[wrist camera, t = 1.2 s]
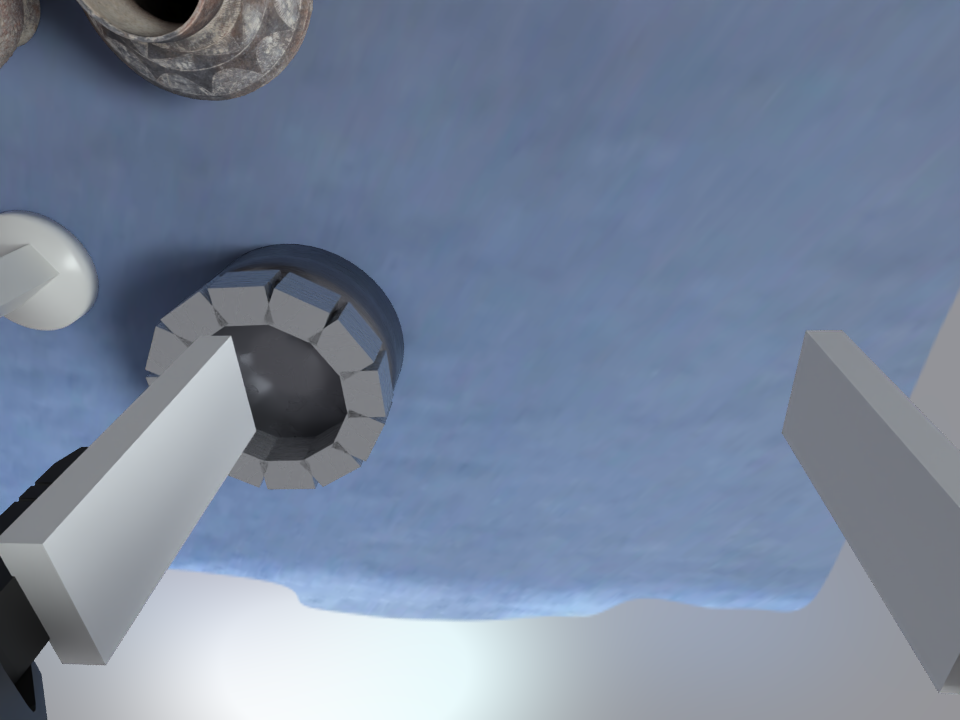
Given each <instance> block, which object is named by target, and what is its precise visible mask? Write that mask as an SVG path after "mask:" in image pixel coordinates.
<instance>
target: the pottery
mask: <svg viewBox="0 0 960 720" xmlns="http://www.w3.org/2000/svg"><path fill="white" fill-rule="evenodd" d="M76 1H77V2H78V3H79V4H80V5H81V7H82V9H83V10H84V12H85V14H86V16H87V18H88V19H89V21H90V23H91V24H92V26H93V27H94V29H95V30H96V32H97V33H98V34H99V36H100V37H101V38H102V40H103V41H104V42H105V43H106V44H107V46H108V47H109V48H110V49H111V50H112V51H113V52H114V53H115V54H116V55H117V56H118V57H119V58H120V59H121V60H122V61H123V62H124V63H125V64H126V65H127V66H128V67H129V68H131V69H132V70H133V71H134V72H136V73H137V74H138V75H140V76H141V77H142V78H144V79H146V80H147V81H149V82H150V83H152V84H154V85H155V86H157V87H159V88H161V89H164V90H166V91H169V92H171V93H174V94H177V95H180V96H184V97H188V98H193V99H200V100H216V101H217V100H228V99H232V98H237V97H240V96H244V95H246V94H249V93H251V92H253V91H255V90H257V89H258V88H260V87H262V86H264V85H265V84H268V83H269V82H270V81H271V80H273V79H274V78H275V77H276V76H278V75H279V74H280V73H281V72H282V71H283V70H284V69H285V68H286V67H287V66H288V64H289V63H290V61H291V60H292V59H293V58H294V56H295V55H296V53H297V52H298V50H299V48H300V46H301V44H302V42H303V40H304V37H305V35H306V32H307V29H308V26H309V22H310V17H311V13H312V10H313V0H76ZM39 20H40V0H0V68H1V67H2V66H3V65H4V64H5V63H6V62H7V61H8V60H9V58H10V57H11V56H12V55H13V52H14V51H15V50H16V48H17V47H19V46H21V45H24V44H25V43H27V42H28V41H29V40H30V39H31V38H32V37H33V35H34V33H35V32H36V29H37V27H38V24H39Z"/></svg>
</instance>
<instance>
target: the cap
mask: <svg viewBox="0 0 960 720" xmlns="http://www.w3.org/2000/svg"><path fill="white" fill-rule="evenodd" d="M98 288H99V285H98V276H97V272H96V268H95V265H94V263H93V261H92V259H91V257H90V255H89V254H88V252H87V250H86V249H85V248H84V246H83V245H82V244H81V243H80V241H79V240H78V239H77V238H76V237H75V236H74V235H73V234H72V233H71V232H70V231H68V230H67V229H66V228H64V227H63V226H62V225H60V224H59V223H57V222H55V221H54V220H52V219H50V218H48V217H46V216H43V215H40V214H37V213H34V212H30V211H23V210H13V211H7V212H3V213H0V318H1V317H3V316H4V317H6V318H7V319H9V320H11V321H13V322H15V323H17V324H19V325H22V326H25V327H28V328H32V329H37V330H56V329H60V328H64V327H66V326H68V325H70V324H71V323H73V322H74V321H76V320H77V319H79V318H80V317H82V316H83V315H85V314H86V313H87V312H88V311H89V310H90V309H91V308H92V307H93V305H94V303H95V301H96V299H97V295H98Z"/></svg>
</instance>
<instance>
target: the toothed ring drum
mask: <svg viewBox="0 0 960 720" xmlns="http://www.w3.org/2000/svg"><path fill="white" fill-rule="evenodd" d="M161 321H162V322H160V323H159V324H158V325H157V326H156V328H155V332H154V336H153V340H152V344H151V348H150V352H149V356H148V360H147V364H146V368H145V370H148V371H150V372H151V373H150V374H149V375H148V376H147V377H146V379H147V382H148V385H149V386H150V385H151V384H152V383H153V382H154V381H155V380H156V379H157V378H158V377H159V376H160V375H161V374H162V373H163V372H164V371H165V370H166V369H167V368H168V367H169V366H170V365H171V364H172V363H173V362H174V361H175V360H176V359H177V358H178V357H179V356H180V355H181V354H182V353H183V352H184V351H185V350H186V349H187V348H188V347H189V346H190V345H191V344H192V343H193V342H194V341H195V340H196V339H197V338H198V337H199V336H231V337H232V341H233V345H234V349H235V352H236V356H237V360H238V364H239V367H240V371H241V375H242V379H243V383H244V386H245V390H246V394H247V398H248V402H249V405H250V409H251V413H252V417H253V420H254V424H255V428H256V432H255V434H254V435H253V437H252V438H251V440H250V441H249V443H248V444H247V446H246V448H245V449H244V451H243V452H242V454H241V455H240V457H239V458H238V460H237V462H236V463H235V465H234V466H233V468H232V469H231V471H230V473H229V474H228V475H229V476H231V477H234V478H236V479H239V480H241V481H244V482H246V483H249V484H251V485H254V486H257V487H260V486H261V484H262V482H263V480H264V478H265V482H266V485H267V488H268V489H315V488H316V486H317V484H318V482H319V483H320V484H321V485H322V486H323V487H324V486H325V485H327V484H329V483H331V482H333V481H335V480H337V479H339V478H340V477H342V476H344V475H346V474H348V473H350V472H352V471H353V470H355V469H357V468H359V467H361V465H362V462H363V460H364V461H366V460H367V458H368V457H369V455H370V453H371V451H372V449H373V447H374V445H375V443H376V441H377V439H378V437H379V435H380V433H381V431H382V429H383V427H384V425H385V422H386V419H387V416H388V413H389V411H390V408H391V405H392V402H391V401H392V398H393V395H394V394H393V391H394V388H395V385H396V382H397V380H398V377H399V374H400V371H401V367H402V363H403V355H404V342H403V334H402V329H401V325H400V322H399V319H398V317H397V314H396V312H395V310H394V308H393V306H392V304H391V302H390V301H389V299H388V298H387V296H386V295H385V293H384V292H383V290H382V289H381V288H380V287H379V286H378V285H377V284H376V283H375V281H374V280H373V279H372V278H370V277H369V276H368V275H367V274H366V273H365V272H364V271H363V270H361V269H360V268H358V267H357V266H355V265H354V264H353V263H351V262H349V261H348V260H346V259H344V258H342V257H340V256H338V255H336V254H333V253H331V252H328V251H326V250H323V249H319V248H315V247H311V246H305V245H298V244H280V245H271V246H266V247H263V248H259V249H256V250H253V251H251V252H249V253H246V254H244V255H243V256H241V257H240V258H238V259H236V260H235V261H234V262H232V263H231V264H230V265H229V266H228V267H226V268H225V269H224V270H223V271H222V272H220V273H219V274H218V275H217V276H216V277H215V278H213V279H212V280H211V281H210V282H208V283H207V284H205V285H204V286H203V287H201V288H200V289H199V290H197V291H196V292H195V293H193V294H192V295H190V296H189V297H188V298H186V299H185V300H184V301H182V302H181V303H180V304H179V305H177V306H176V307H175V308H174V309H173V310H171V311H170V312H169V313H168V314H167V315H165V316H164V317H163V318H162V319H161Z"/></svg>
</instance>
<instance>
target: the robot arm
mask: <svg viewBox="0 0 960 720" xmlns="http://www.w3.org/2000/svg"><path fill="white" fill-rule="evenodd" d="M255 432H256V428H255V424H254V420H253V417H252V413H251V409H250V405H249V402H248V398H247V394H246V390H245V386H244V383H243V379H242V375H241V371H240V367H239V364H238V360H237V356H236V352H235V349H234V345H233V341H232V337H231V336H199V337H198V338H197V339H196V340H195V341H194V342H193V343H192V344H191V345H190V346H189V347H188V348H187V349H186V350H185V351H184V352H183V353H182V354H181V355H180V356H179V357H178V358H177V359H176V360H175V361H174V362H173V363H172V364H171V365H170V366H169V367H168V368H167V369H166V370H165V371H164V372H163V373H162V374H161V375H160V376H159V377H158V378H157V379H156V380H155V381H154V382H153V383H152V384H151V385H150V386H149V387H148V388H147V389H146V390H145V391H144V392H143V393H142V394H141V395H140V396H139V397H138V398H137V399H136V400H135V401H134V402H133V403H132V404H131V405H130V406H129V407H128V408H127V409H126V410H125V411H124V412H123V413H122V414H121V415H120V416H119V417H118V418H117V419H116V420H115V421H114V422H113V423H112V424H111V425H110V426H109V427H108V428H107V429H106V430H105V431H104V432H103V433H102V434H101V435H100V436H99V437H98V438H97V439H96V440H95V441H94V442H93V443H92V444H91V445H90V446H89V447H81V448H79V449H77V450H76V451H74V452H72V453H71V454H69V455H68V456H66V457H64V458H63V459H61V460H59V461H58V462H56V463H54V464H53V465H52V466H51V467H50V468H49V469H48V470H47V471H46V472H45V473H44V474H43V475H42V476H41V477H40V478H39V479H38V480H37V481H36V482H35V486H31V487H30V488H28V489H27V490H26V491H25V492H24V493H23V494H22V495H21V496H20V497H19V501H18V502H14V503H13V504H12V505H11V506H10V507H9V508H8V509H7V510H6V511H5V512H4V513H2V514H1V515H0V720H47V714H46V706H45V698H44V691H43V683H42V676H41V673H40V671H39V669H38V667H37V665H36V663H35V662H34V659H35V658H36V657H37V655H38V654H39V653H40V651H41V650H42V649H43V647H44V646H45V645H46V643H47V642H48V641H50V643H51V645H52V646H53V648H54V650H55V652H56V654H57V655H58V657H59V659H60V660H61V662H62V664H85V665H106V664H107V662H108V661H109V660H110V658H111V656H112V655H113V653H114V652H115V650H116V649H117V647H118V646H119V644H120V642H121V641H122V639H123V638H124V636H125V635H126V633H127V631H128V630H129V628H130V627H131V625H132V624H133V622H134V621H135V619H136V617H137V616H138V614H139V613H140V611H141V610H142V608H143V606H144V605H145V603H146V602H147V600H148V599H149V597H150V596H151V594H152V592H153V591H154V589H155V588H156V586H157V585H158V583H159V582H160V580H161V579H162V577H163V575H164V574H165V572H166V571H167V569H168V568H169V566H170V564H171V563H172V561H173V560H174V558H175V557H176V555H177V554H178V552H179V550H180V549H181V547H182V546H183V544H184V543H185V541H186V540H187V538H188V536H189V535H190V533H191V532H192V530H193V529H194V527H195V526H196V524H197V522H198V521H199V519H200V518H201V516H202V515H203V513H204V511H205V510H206V508H207V507H208V505H209V504H210V502H211V501H212V499H213V497H214V496H215V494H216V493H217V491H218V490H219V488H220V487H221V485H222V483H223V482H224V480H225V479H226V477H227V476H228V474H229V473H230V471H231V469H232V468H233V466H234V465H235V463H236V462H237V460H238V458H239V457H240V455H241V454H242V452H243V451H244V449H245V448H246V446H247V444H248V443H249V441H250V440H251V438H252V437H253V435H254V434H255ZM782 434H783V435H784V437H785V439H786V440H787V442H788V444H789V445H790V447H791V449H792V450H793V452H794V454H795V455H796V457H797V459H798V460H799V462H800V464H801V465H802V467H803V469H804V470H805V472H806V474H807V475H808V477H809V479H810V480H811V482H812V484H813V485H814V487H815V489H816V490H817V492H818V494H819V495H820V497H821V499H822V500H823V502H824V504H825V505H826V507H827V508H828V510H829V512H830V513H831V515H832V517H833V518H834V520H835V522H836V523H837V525H838V527H839V528H840V530H841V532H842V533H843V535H844V537H845V538H846V540H847V542H848V543H849V545H850V546H851V548H852V550H853V552H854V553H855V555H856V557H857V558H858V560H859V562H860V563H861V565H862V567H863V568H864V570H865V571H866V573H867V575H868V577H869V578H870V580H871V582H872V583H873V585H874V586H875V588H876V589H877V591H878V593H879V595H880V596H881V598H882V600H883V601H884V603H885V605H886V606H887V608H888V609H889V611H890V613H891V615H892V616H893V618H894V620H895V621H896V623H897V625H898V626H899V628H900V629H901V631H902V633H903V635H904V636H905V638H906V639H907V641H908V643H909V645H910V646H911V648H912V650H913V651H914V653H915V655H916V656H917V658H918V660H919V661H920V663H921V664H922V666H923V668H924V669H925V671H926V673H927V674H928V676H929V678H930V679H931V681H932V683H933V684H934V686H935V688H936V689H937V691H938V693H940V694H960V450H959V449H958V448H957V447H956V446H955V445H954V444H953V443H952V442H951V441H950V440H949V439H948V438H947V437H946V436H945V435H944V434H943V433H942V432H941V431H940V430H939V429H938V428H937V427H936V426H935V425H934V424H933V423H932V422H931V421H930V420H929V419H928V418H927V416H925V415H924V414H923V412H922V411H921V410H920V409H919V408H918V407H917V406H916V405H914V403H913V402H912V401H911V400H910V399H909V398H908V397H907V396H906V395H905V394H904V393H903V392H902V391H901V390H900V389H899V388H898V387H897V386H896V385H895V384H894V383H893V382H892V381H891V380H890V379H889V378H888V377H887V376H886V375H885V374H884V373H883V372H882V371H881V370H880V369H879V368H878V367H877V366H876V365H875V363H874V362H873V361H872V360H871V359H870V358H869V357H868V356H867V355H866V354H865V353H864V352H863V351H862V350H861V349H860V348H859V347H858V346H857V345H856V344H855V343H854V342H853V341H852V340H851V339H850V338H849V337H848V336H847V335H846V334H845V333H844V332H843V331H842V330H820V331H806V332H805V336H804V340H803V345H802V349H801V353H800V357H799V362H798V366H797V370H796V374H795V379H794V383H793V387H792V391H791V396H790V400H789V404H788V408H787V413H786V417H785V421H784V425H783V430H782Z"/></svg>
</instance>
